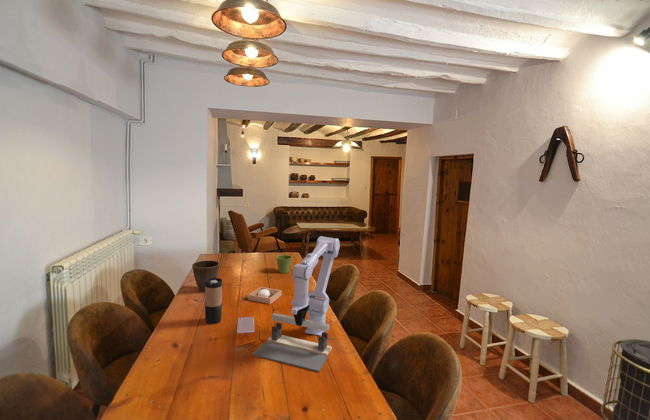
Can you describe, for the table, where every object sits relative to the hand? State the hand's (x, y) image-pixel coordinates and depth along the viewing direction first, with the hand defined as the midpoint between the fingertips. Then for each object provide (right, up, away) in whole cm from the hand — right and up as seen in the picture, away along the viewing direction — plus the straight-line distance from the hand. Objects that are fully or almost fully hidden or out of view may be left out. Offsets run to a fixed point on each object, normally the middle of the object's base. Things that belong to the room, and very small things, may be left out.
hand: (299, 323), depth 135 cm
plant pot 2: (-20, +2, +99) cm, 101 cm away
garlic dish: (-24, -3, +51) cm, 56 cm away
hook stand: (-1, -10, +1) cm, 10 cm away
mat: (-3, -10, -7) cm, 13 cm away
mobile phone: (-27, -7, +17) cm, 32 cm away
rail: (0, 0, 0) cm, 0 cm away
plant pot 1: (-61, 0, +57) cm, 83 cm away
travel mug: (-43, -5, +19) cm, 47 cm away
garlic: (-25, -3, +53) cm, 59 cm away
